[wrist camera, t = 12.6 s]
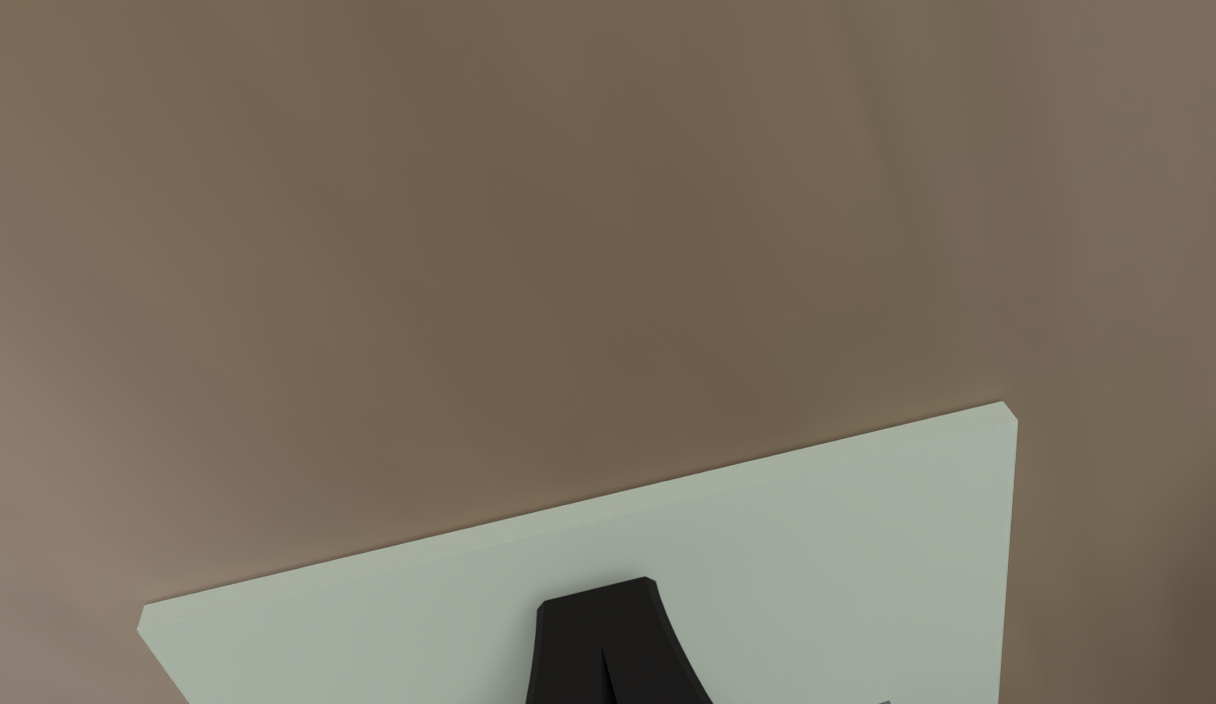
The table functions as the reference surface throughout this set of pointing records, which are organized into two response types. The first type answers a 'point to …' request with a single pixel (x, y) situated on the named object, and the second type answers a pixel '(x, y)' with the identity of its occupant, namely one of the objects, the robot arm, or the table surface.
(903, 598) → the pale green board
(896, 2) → the table surface
